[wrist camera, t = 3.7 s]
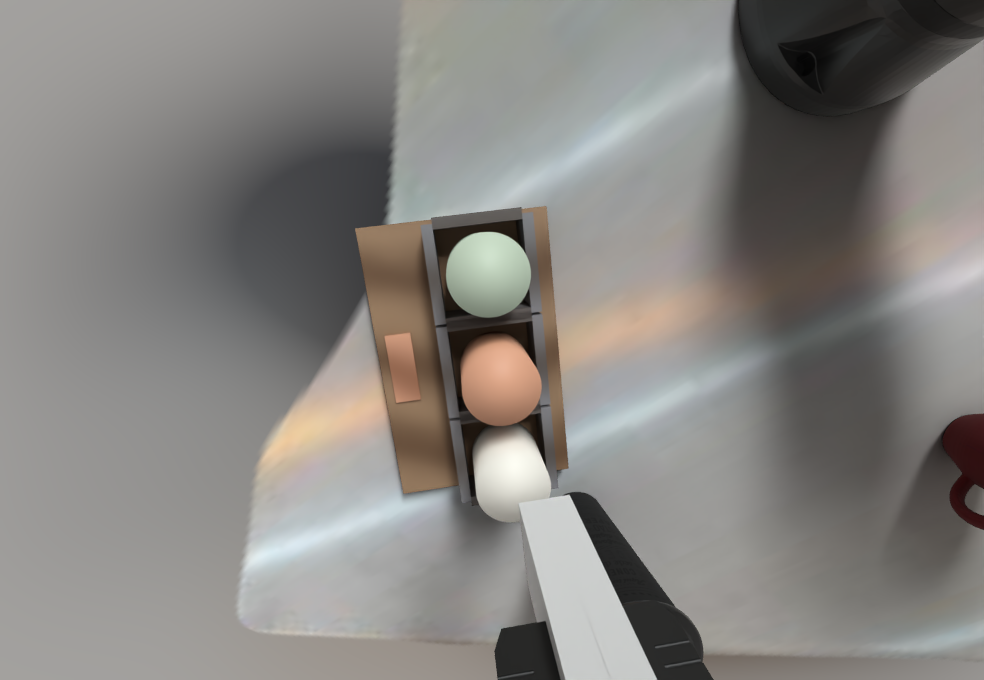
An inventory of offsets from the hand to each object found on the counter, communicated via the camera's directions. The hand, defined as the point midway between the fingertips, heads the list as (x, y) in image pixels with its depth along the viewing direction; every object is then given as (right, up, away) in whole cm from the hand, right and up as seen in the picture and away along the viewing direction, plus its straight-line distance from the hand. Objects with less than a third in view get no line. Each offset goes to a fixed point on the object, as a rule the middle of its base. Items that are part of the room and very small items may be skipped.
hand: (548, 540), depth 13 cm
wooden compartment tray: (-3, +5, +21) cm, 22 cm away
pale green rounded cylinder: (-2, +10, +16) cm, 19 cm away
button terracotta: (-2, +4, +18) cm, 18 cm away
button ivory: (-1, -2, +19) cm, 19 cm away
